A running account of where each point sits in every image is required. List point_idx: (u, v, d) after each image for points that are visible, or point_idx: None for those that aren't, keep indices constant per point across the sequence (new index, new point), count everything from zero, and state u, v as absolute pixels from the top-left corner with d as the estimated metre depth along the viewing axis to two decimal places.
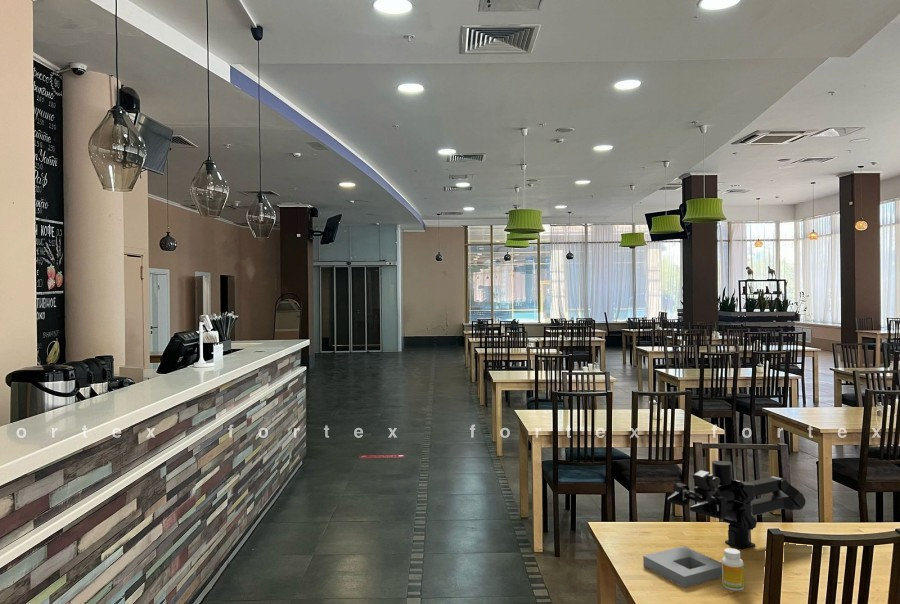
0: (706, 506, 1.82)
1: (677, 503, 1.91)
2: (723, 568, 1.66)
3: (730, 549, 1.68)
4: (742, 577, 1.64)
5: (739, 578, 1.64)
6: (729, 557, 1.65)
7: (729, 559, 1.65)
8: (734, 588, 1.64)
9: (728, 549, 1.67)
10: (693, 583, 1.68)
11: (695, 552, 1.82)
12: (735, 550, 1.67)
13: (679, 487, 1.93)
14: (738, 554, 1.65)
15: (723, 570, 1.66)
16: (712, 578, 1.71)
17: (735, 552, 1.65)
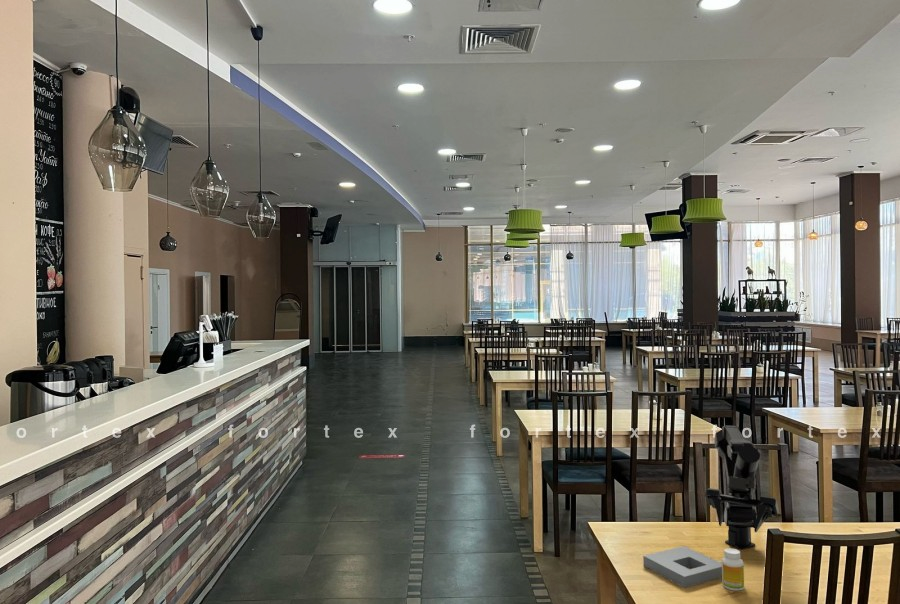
0: None
1: (722, 514, 1.79)
2: (723, 568, 1.66)
3: (730, 549, 1.68)
4: (742, 577, 1.64)
5: (739, 578, 1.64)
6: (729, 557, 1.65)
7: (729, 559, 1.65)
8: (734, 588, 1.64)
9: (728, 549, 1.68)
10: (693, 583, 1.68)
11: (695, 552, 1.82)
12: (735, 550, 1.67)
13: (716, 499, 1.79)
14: (738, 554, 1.65)
15: (723, 570, 1.66)
16: (712, 578, 1.71)
17: (735, 552, 1.65)
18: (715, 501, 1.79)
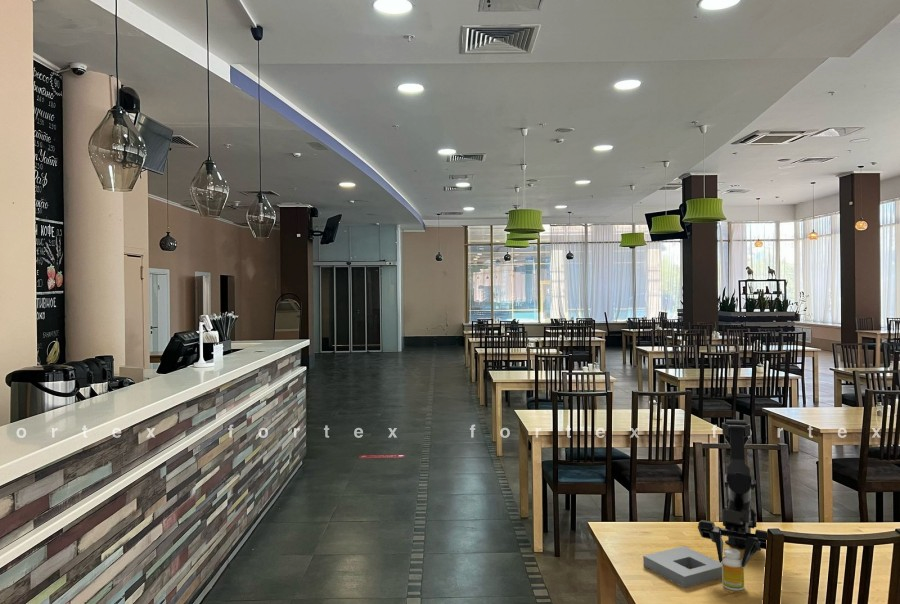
0: None
1: (722, 549, 1.70)
2: (723, 568, 1.66)
3: (730, 549, 1.68)
4: (742, 577, 1.64)
5: (739, 578, 1.64)
6: (729, 557, 1.65)
7: (729, 559, 1.65)
8: (734, 588, 1.64)
9: (728, 549, 1.67)
10: (693, 583, 1.68)
11: (695, 552, 1.82)
12: (735, 550, 1.67)
13: (716, 533, 1.70)
14: (738, 554, 1.65)
15: (723, 570, 1.66)
16: (712, 578, 1.71)
17: (735, 552, 1.65)
18: (715, 535, 1.70)
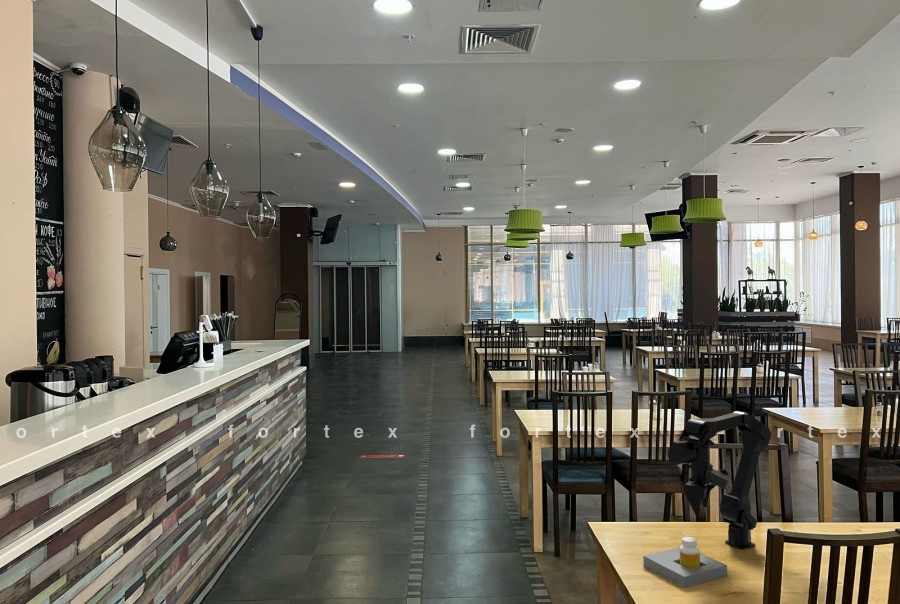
0: None
1: None
2: (680, 556, 1.75)
3: (687, 537, 1.76)
4: (698, 564, 1.73)
5: (695, 565, 1.73)
6: (686, 545, 1.74)
7: (686, 547, 1.74)
8: None
9: (686, 538, 1.76)
10: (693, 583, 1.68)
11: None
12: (692, 538, 1.76)
13: (705, 496, 1.82)
14: (694, 542, 1.74)
15: (680, 557, 1.75)
16: (712, 578, 1.71)
17: (692, 540, 1.74)
18: (703, 498, 1.83)
